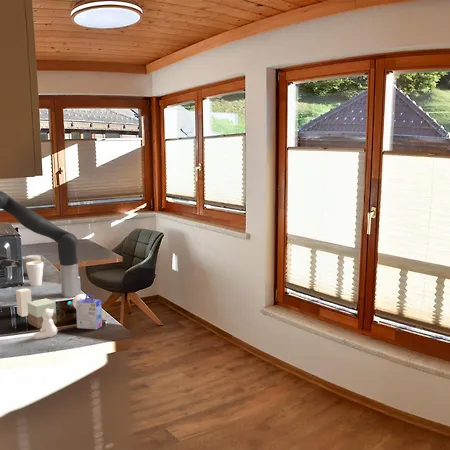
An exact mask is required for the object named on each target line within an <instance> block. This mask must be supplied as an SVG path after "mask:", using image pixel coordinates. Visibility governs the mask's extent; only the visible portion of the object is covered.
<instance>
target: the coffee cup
mask: <svg viewBox="0 0 450 450" xmlns="http://www.w3.org/2000/svg"><path fill="white" fill-rule="evenodd" d="M24 260H25V264H26V263H28V262H32V261H42V257H41V255H39V254H31V255H26V256H25V257H24ZM26 273H27V276H28V272H27V271H26Z"/></svg>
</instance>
